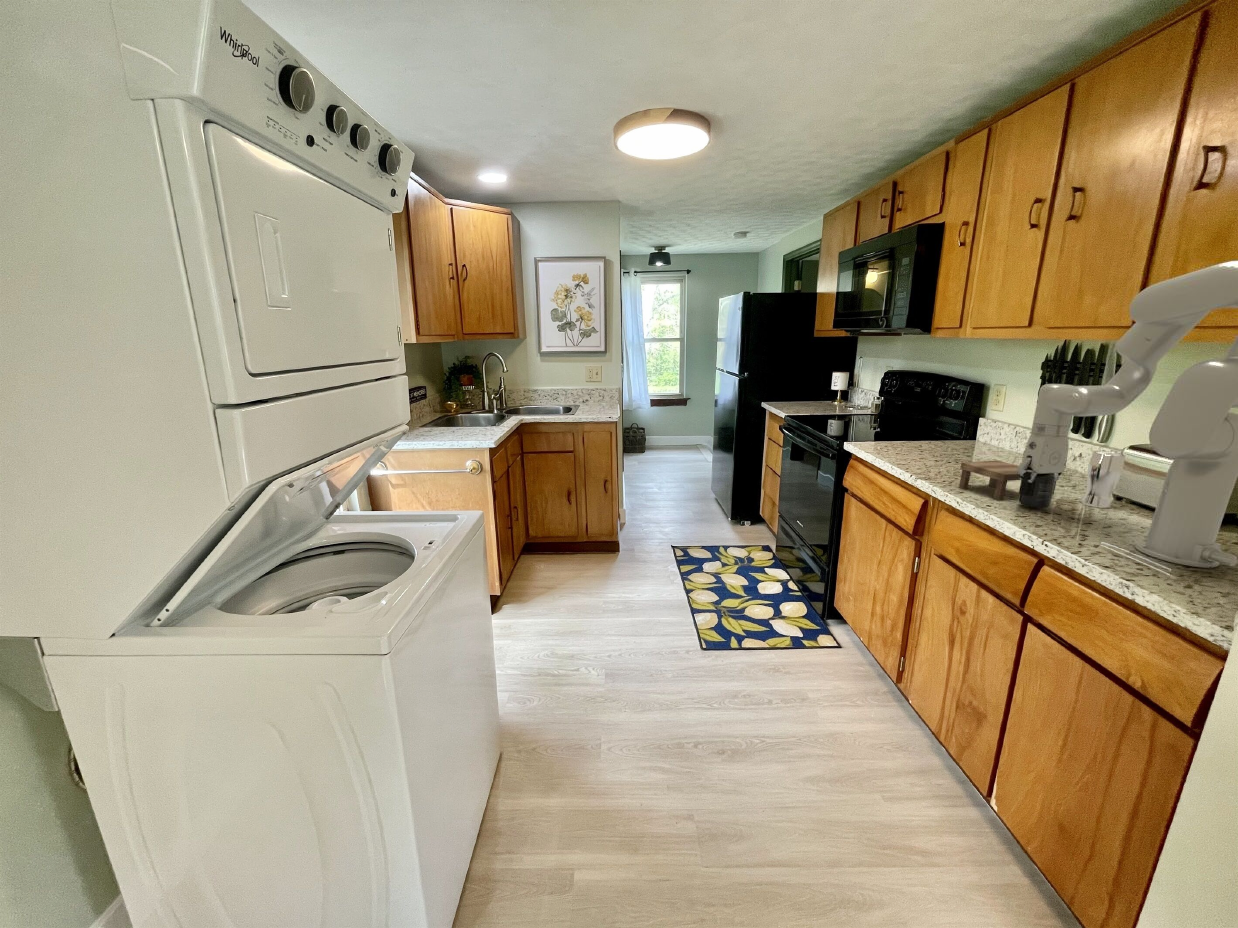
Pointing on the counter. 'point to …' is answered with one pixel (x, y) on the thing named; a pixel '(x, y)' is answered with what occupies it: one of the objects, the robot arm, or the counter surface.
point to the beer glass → (1102, 478)
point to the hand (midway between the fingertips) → (1035, 493)
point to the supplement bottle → (1040, 491)
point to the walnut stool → (990, 474)
